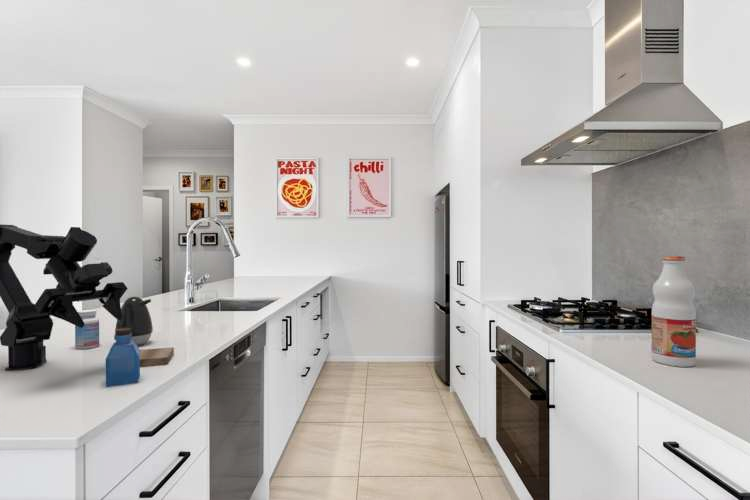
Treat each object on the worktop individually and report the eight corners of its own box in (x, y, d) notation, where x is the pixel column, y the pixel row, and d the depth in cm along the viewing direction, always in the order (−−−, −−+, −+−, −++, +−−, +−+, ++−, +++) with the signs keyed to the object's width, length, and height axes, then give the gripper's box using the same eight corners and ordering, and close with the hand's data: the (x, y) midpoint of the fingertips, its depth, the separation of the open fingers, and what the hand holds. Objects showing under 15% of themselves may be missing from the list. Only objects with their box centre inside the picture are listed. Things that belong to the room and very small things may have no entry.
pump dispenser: (141, 348, 122) (141, 298, 122) (107, 348, 122) (106, 298, 122) (159, 340, 132) (159, 294, 132) (128, 340, 132) (128, 294, 132)
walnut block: (119, 371, 102) (119, 361, 102) (130, 359, 112) (130, 350, 112) (167, 366, 106) (167, 357, 106) (173, 355, 116) (173, 347, 116)
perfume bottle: (105, 387, 89) (105, 333, 89) (109, 379, 94) (108, 328, 94) (138, 382, 92) (137, 330, 92) (139, 375, 97) (139, 325, 97)
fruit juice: (664, 355, 113) (665, 255, 112) (703, 364, 104) (704, 256, 104) (643, 359, 109) (644, 256, 108) (682, 369, 100) (683, 257, 100)
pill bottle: (86, 350, 121) (86, 312, 120) (70, 349, 122) (69, 312, 122) (104, 345, 126) (104, 309, 126) (88, 344, 128) (87, 309, 128)
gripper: (42, 252, 88) (78, 305, 84) (121, 251, 106) (154, 294, 102) (19, 287, 91) (53, 339, 87) (100, 280, 108) (131, 323, 105)
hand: (102, 322), depth 95 cm, fingers open, 9 cm apart
